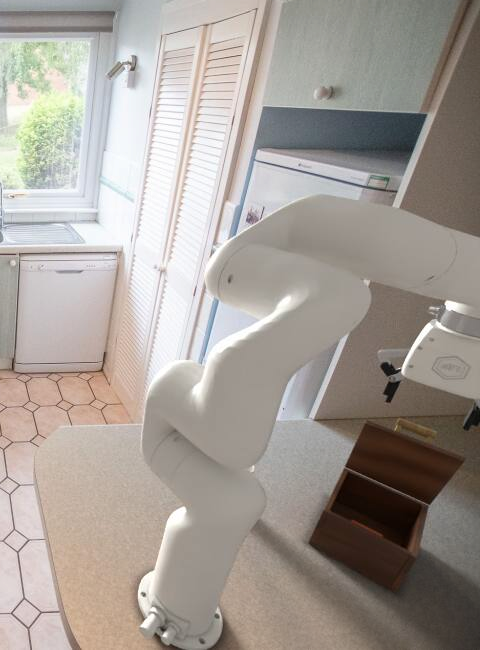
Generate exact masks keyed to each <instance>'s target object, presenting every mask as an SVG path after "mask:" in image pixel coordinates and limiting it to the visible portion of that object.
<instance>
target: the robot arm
mask: <svg viewBox="0 0 480 650" xmlns="http://www.w3.org/2000/svg"><path fill="white" fill-rule="evenodd" d="M203 277H204V278H203V279H204V284H205V288H206V289H207V291H208V292H209V294H210V295H211V296H213V298H214V299H215V300H217V301H219V302H221V303H223V304H225V305H227V306H229V307H231V308H233V309H235V310H238V311H240V312H242V313H244V314H246V315H248V316H250V317H252V318H255V319H256V320H259V321H257V322H255V323H253V324H252V325H250V326H248V327H246V328H244V329H242V330H240V331H238V332H235V333H233V334H231V335H229V336H227V337H225V338H224V339H222V340H220V341H219V342H218V343H216V345H215V346H214V347H212V349H211V351H210V352H209V354H208V356H207V359H206V363H205V365H204V364H201V363H199V362H196V361H194V360H189V359H179V360H178V359H177V360H174V361H172V362H169V363H167V364H166V365H164V366H163V367H162V368H161V369H160V370H159V371H158V372H157V373H156V375H155V376H154V377H153V379H152V381H151V382H150V384H149V387H148V389H147V393H146V396H145V403H144V410H143V418H142V426H141V433H140V434H141V435H140V455H141V458H142V460H143V462H144V463H145V465H146V466H147V467H148V469H149V470H150V471H151V472H152V473H153V474H154V476H156V477H157V479H159V481H161V482H162V483H163V485H165V486H166V488H167V489H169V490H170V491H171V493H172V494H173V496H175V497H176V498H177V499H178V500H179V502H180V503H181V504H182V506H183V507H180V508H178V509H176V510H174V511H173V512H172V513H171V514H170V516H169V518H168V519H167V522H166V525H165V529H164V533H163V537H162V540H161V544H160V548H159V552H158V556H157V559H156V563H155V566H154V570H152V571H149V572H148V573H147V574H145V575H144V576H143V578H142V579H141V581H140V583H139V587H138V590H137V601H138V607H139V609H140V612H141V615H142V616H143V618H144V621H143V623H142V624H141V625H140V626H139V632H140V634H141V635H142V636H143V637H144V639H147V640H151V639H152V638H153V637H154V635H155V634H156V635H157V636H159V637H160V640H161V642H162V643H163V644H164V645H165V646H170V645H172V646H174V647H177V648H179V649H181V650H208V649H210V648H212V647H214V646H215V645H216V644H217V643H218V642H219V639H220V637H221V635H222V631H223V625H224V622H223V615H222V612H221V609H220V607H219V604H220V602H221V599H222V596H223V593H224V591H225V588H226V586H227V583H228V581H229V578H230V575H231V573H232V569H233V567H234V566H235V565H234V564H235V561H236V559H237V557H238V554H239V552H240V550H241V547H242V546H243V543H244V541H245V539H246V538H247V536H248V534H249V533H250V532H251V531H252V529H253V528H254V526H255V525H256V524H257V523H258V521H260V519H261V517H262V515H263V514H264V512H265V510H266V507H267V502H268V501H267V500H268V499H267V493H266V491H265V488H264V487H263V484H262V483H261V482H260V481H259V479H258V478H257V477H256V475H254V474H252V473H251V472H250V471H249V470H248V469H247V468H249V467H251V466H253V465H254V466H256V464H257V463H259V462H260V460H261V459H262V458H263V456H264V455H265V453H266V451H267V449H268V447H269V443H270V441H271V438H272V435H273V432H274V427H275V425H276V422H277V418H278V415H279V412H280V407H281V405H282V401H283V398H284V395H285V392H286V390H287V387H288V384H289V383H290V381H291V379H292V378H293V377H294V376H295V374H297V373H298V372H299V371H300V370H301V369H302V368H303V367H305V366H307V364H309V363H310V362H311V361H313V360H314V359H315V358H317V357H318V356H320V355H321V354H323V353H324V352H325V351H327V350H329V348H331V347H332V346H333V345H335V344H337V343H338V342H339V341H340V340H342V339H343V338H344V337H346V336H347V335H349V333H351V332H352V331H353V330H355V328H356V327H357V326H359V324H360V323H361V322H362V320H363V319H364V318H365V317H366V315H367V313H368V311H369V309H370V307H371V303H372V292H371V289H370V287H369V286H368V284H367V283H365V281H369V282H373V283H378V284H381V285H385V286H388V287H391V288H396V289H398V290H401V291H406V292H410V293H413V294H417V295H420V296H423V297H428V298H433V299H436V300H440V301H441V300H442V301H445V302H444V305H443V304H441V305H437V306H436V305H432V304H430V306H429V307H428V310H427V312H426V313H428V314H430V315H432V316H435V318H432V319H431V320H430V321H429V322H428V323H427V324H426V325H425V326H424V327H423V329H422V330H421V331H420V333H419V335H418V336H417V338H416V339H415V341H414V343H413V344H412V346H411V347H408V348H407V347H406V348H405V347H404V348H387V349H386V348H384V349H380V350H378V352H377V358H378V362H379V365H380V369H381V370H382V372H383V373H384V374H385V377H387V381H388V382H387V384H386V386H385V388H384V390H383V393H382V395H384V396H386V398H385V400H384V402H385V403H387V404H389V403H390V404H391V403H392V401H393V399H394V397H395V394H396V393H397V390H398V388H399V386H400V384H401V382H402V380H405V379H408V380H410V381H412V382H415V383H418V384H422V385H424V386H427V387H431V388H434V389H437V390H440V391H444V392H447V393H449V394H453V395H456V396H459V397H461V398H462V397H463V398H466V399H469V400H473V401H474V402H473V404H472V405H471V407H470V409H469V411H468V412H467V414H466V416H465V418H464V420H463V422H462V426H461V427H462V429H463V430H464V431H466V432H469V430H470V429H471V427H472V426H474V427H479V425H480V237H479V236H476V235H472V234H469V233H466V232H464V231H460V230H456V229H453V228H450V227H446V226H444V225H442V224H439V223H436V222H434V221H431V220H429V219H426V218H424V217H422V216H421V215H417V214H414V213H412V212H410V211H407V210H405V209H402V208H399V207H395V206H391V205H387V204H382V203H376V202H370V201H364V200H358V199H352V198H347V197H341V196H336V195H331V194H325V193H315V194H310V195H306V196H303V197H301V198H297V199H295V200H293V201H290V202H289V203H287V204H285V205H283V206H281V207H280V208H277V209H276V210H274V211H272V212H271V213H269V214H268V215H266V216H264V217H263V218H261V219H259V220H258V221H256V222H255V223H253V224H252V225H251V226H249V227H246V229H244V230H242V231H241V232H239V233H238V234H236V235H234V236H233V237H231V238H230V239H229V240H226V242H224V243H223V244H222V245H221V246H219V248H218V249H217V250H216V251H215V252H214V253H213V255H212V256H211V257H210V258H209V261H208V262H207V264H206V266H205V270H204V275H203ZM364 280H365V281H364ZM401 358H403V359H404V358H405V360H404V362H403V364H402V365H401V367H398V368H396V367H395V366H394V365H393V363H392V362H391V359H401Z"/></svg>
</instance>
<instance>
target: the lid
mask: <svg viewBox="0 0 480 650" xmlns="http://www.w3.org/2000/svg"><path fill="white" fill-rule="evenodd" d="M394 426H395V428H394V429H392V428H389V427H386V426H384V425H382V424H379V423H376V422H373V421H371V420H369V419H366V420H365V421H364V423H363V426H362V428H361V430H360V432H359V435H358V436H357V439H356V441H355V443H354V445H353V447H352V449H351V451H350V454H349V456H348V458H347V460H346V463H345V465H344V468H347V469H349V470H351V471H353V472H355V473H358V474H360V475H362V476H364V477H367V478H369V479H371V480H373V481H375V482H378V483H380V484H382V485H384V486H387V487H389V488H391V489H393V490H395V491H398V492H400V493H402V494H404V495H407V496H409V497H411V498H413V499H415V500H418V501H420V502H422V503H424V504H427V505H429V506H430V505H431V504H432V503H433V502H434V500H436V498H437V497H438V496H439V495H440V493H442V491H443V490H444V488H445V487H446V486H447V485H448V483H449V482H450V481H451V480H452V478H453V477H454V476H455V475H456V474H457V472H458V471H459V469H460V468H461V467H462V466H463V464H465V462H466V459H467V457H466V456H462V455H460V454H457V453H455V452H453V451H449V450H447V449H444V448H442V447H439V446H436V445H433V444H432V442H433V441H434V440H435V439H436V436H437V434H438V431H437V430H434V429H431V428H428V427H426V426H423V425H420V424H416V423H414V422H413V421H409V420H406V419H403V418H400V417H398V419H397V421H396V422H395V425H394ZM402 430H404V431H407V432H410V433H412V434H415V435H417V436H420V437H423V438H426V439H425V440H421V439H418V438H415V437H413V436H410V435H408V434H405V433H402V432H401V431H402Z"/></svg>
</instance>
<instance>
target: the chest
mask: <svg viewBox="0 0 480 650" xmlns="http://www.w3.org/2000/svg"><path fill="white" fill-rule="evenodd" d="M337 479H338V480H337V481H336V483H335V485H334V488H333V489H332V492H331V494H330V496H329V497H328V500H327V502H326V504H325V506H324V508H323V510H322V512H321V514H320V517H319V518H318V521H317V523H316V525H315V527H314V529H313V532H312V533H311V536H310V537H309V540H308V542H307V544H309V545H310V546H311V547H314V548H315V549H317V550H319V551H321V552H323V553H324V554H326V555H328V556H330V558H333V559H335V560H337V561H338V562H340V563H341V564H344V565H345V566H347V567H349V568H351V569H353V571H356V572H358V573H359V574H361V575H363V576H365V577H367V578H369V579H370V580H372V581H374V582H375V583H376V584H379V585H381V586H383V587H384V588H386V589H388V590H389V591H391V592H393V593H396V592H397V591H398V589H399V587H400V586H401V584H402V583H403V582H404V580H405V578H406V576H407V575H408V573H409V572H410V570H411V569H412V567H413V565H414V564H415V563H416V561H417V559H418V556H419V552H420V547H421V544H422V540H423V539H422V538H423V534H424V529H425V525H426V521H427V517H428V513H429V508H430V505H428V504H426V503H424V502H421V501H419V500H417V499H415V498H412V497H410V496H408V495H406V494H403V493H401V492H399V491H397V490H395V489H392V488H390V487H388V486H386V485H383V484H381V483H379V482H377V481H375V480H372V479H370V478H368V477H366V476H363V475H361V474H359V473H357V472H354V471H352V470H350V469H348V468H346V467H343V469H342V471H341V473H340V475H339V478H337ZM352 519H353V520H355V521H357V522H358V523H360V524H362V525H364V526H366V527H368V528H370V529H372V530H374V531H376V532H378V533H380V534H382V535H383V536H382V537H381V536H379V535H377V534H375V533H373V532H371V531H369V530H367V529H365V528H363V527H361V526H359V525H358V524H356V523H354V522H352V521H351V520H352Z"/></svg>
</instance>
